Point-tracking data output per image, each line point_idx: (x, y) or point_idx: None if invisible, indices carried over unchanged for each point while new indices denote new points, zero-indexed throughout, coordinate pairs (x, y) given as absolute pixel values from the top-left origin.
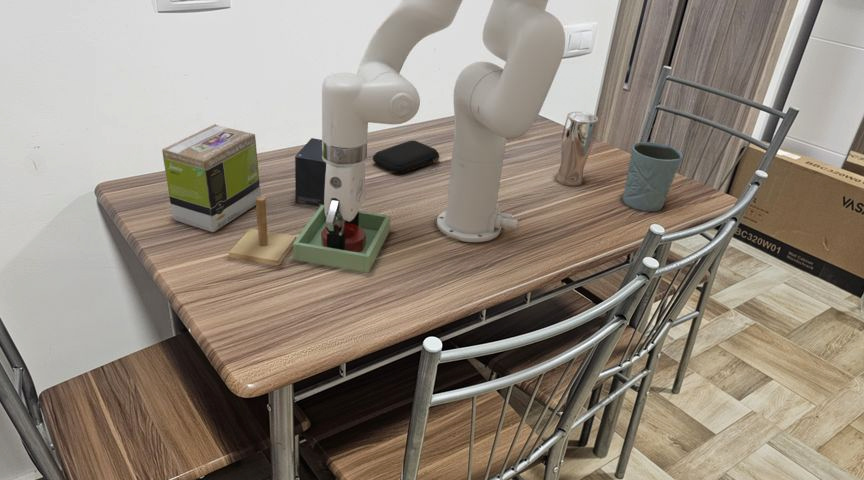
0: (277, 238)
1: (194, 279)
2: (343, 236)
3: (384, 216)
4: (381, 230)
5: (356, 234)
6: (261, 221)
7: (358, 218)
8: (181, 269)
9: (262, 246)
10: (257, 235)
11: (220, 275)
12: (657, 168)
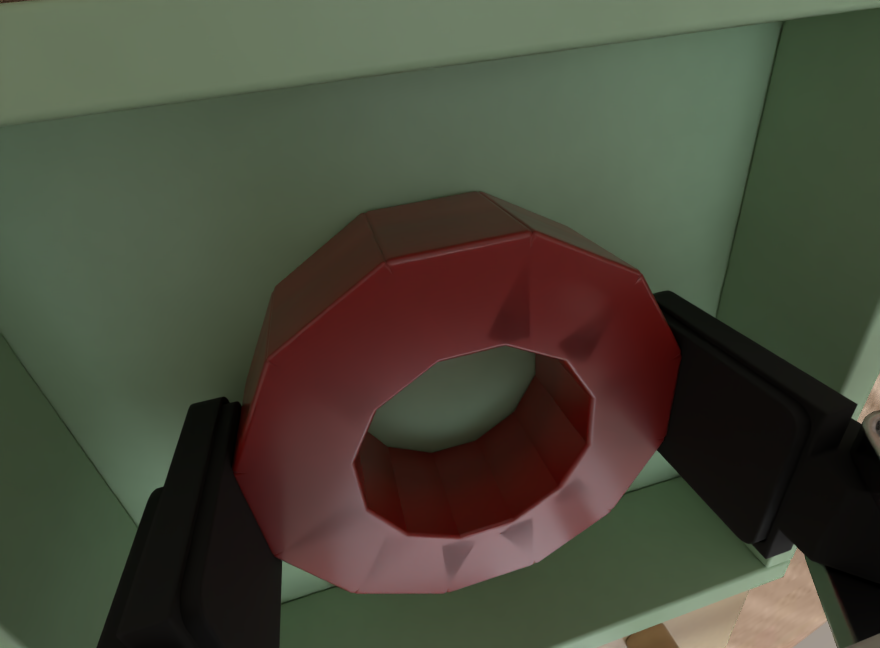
0: None
1: (814, 596)
2: (829, 398)
3: None
4: (258, 11)
5: (456, 346)
6: None
7: (171, 521)
8: (763, 643)
9: (667, 623)
10: None
11: (794, 572)
12: None
